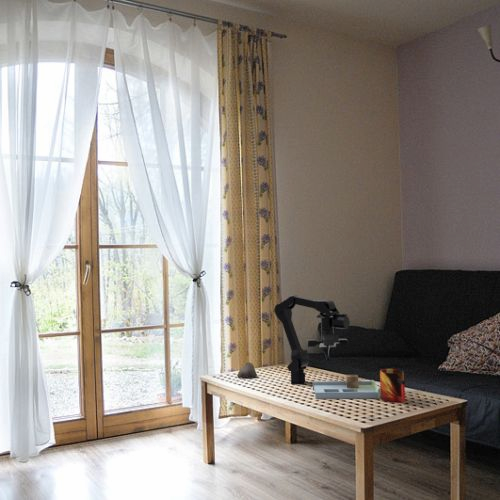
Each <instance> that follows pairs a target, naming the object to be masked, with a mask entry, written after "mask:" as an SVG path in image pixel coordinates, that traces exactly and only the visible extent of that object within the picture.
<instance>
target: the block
mask: <svg viewBox="0 0 500 500" xmlns="http://www.w3.org/2000/svg"><path fill="white" fill-rule="evenodd" d="M345 378H346V379H345V381H346V382H347V388H359V387H358V381H359V375H358V374H346V377H345Z"/></svg>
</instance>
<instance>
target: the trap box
mask: <svg viewBox="0 0 500 500" xmlns="http://www.w3.org/2000/svg"><path fill="white" fill-rule="evenodd" d="M358 387H359V388H347V382H346V380H344V381H342V380H338V381H336V380H335V381H334V380H333V381H327V380H326V381H324V380H323V381H312V390H313V391H314V394H315V395H314V396H315V397H314V398H315V399H325V400H326V399H329V400H330V399H331V400H332V399H333V400H334V399H381V395H380V386H379V385H378V384H377V383H376V381H375V380H374V379H371V380H358Z"/></svg>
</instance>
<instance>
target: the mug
mask: <svg viewBox="0 0 500 500" xmlns="http://www.w3.org/2000/svg"><path fill="white" fill-rule="evenodd" d="M404 375H405V374H404V370H402V369H398V368H397V369H395V368H384V369H380V370H379V379H380V380H379V384H380V385H379V388H380V400H381V401H382V402H384V403H393V404H394V403H395V404H396V403H406V391H405V390H406V387H405V383H406V381H405V379H404V378H405V376H404Z"/></svg>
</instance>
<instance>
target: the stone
mask: <svg viewBox="0 0 500 500" xmlns="http://www.w3.org/2000/svg"><path fill="white" fill-rule="evenodd" d="M257 375H258V374H257V372H256V369H255V366H254V364H253V363H252V362H246V363H244V364H243V365H242V366H241V368H239V371H238V372H237V377H236V378H238V379H243V378H257Z"/></svg>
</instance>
